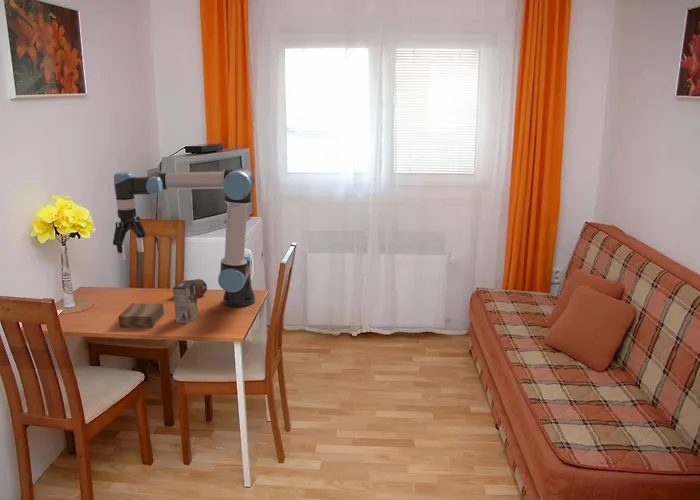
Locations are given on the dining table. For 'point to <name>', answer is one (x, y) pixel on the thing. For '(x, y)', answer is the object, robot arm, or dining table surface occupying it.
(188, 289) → the coffee box
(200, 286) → the tin
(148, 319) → the walnut plinth
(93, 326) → the dining table surface
